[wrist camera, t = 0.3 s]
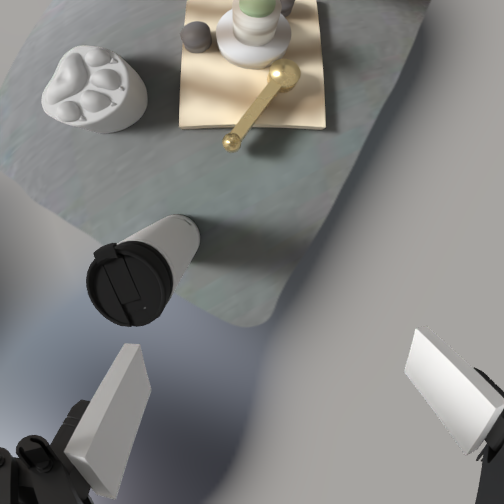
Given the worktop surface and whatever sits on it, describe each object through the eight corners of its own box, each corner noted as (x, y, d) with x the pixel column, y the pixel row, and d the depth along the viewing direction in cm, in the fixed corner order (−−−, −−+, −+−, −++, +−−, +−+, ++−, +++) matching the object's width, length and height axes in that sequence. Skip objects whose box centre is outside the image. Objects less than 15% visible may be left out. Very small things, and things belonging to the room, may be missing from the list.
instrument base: (190, -2, 29) (177, -49, 18) (312, 0, 30) (333, -44, 18) (182, 129, 34) (158, 108, 23) (321, 130, 35) (355, 111, 24)
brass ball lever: (277, 62, 31) (280, 53, 28) (301, 78, 31) (306, 70, 28) (214, 143, 33) (212, 139, 30) (239, 159, 33) (240, 157, 30)
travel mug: (191, 205, 37) (141, 232, 17) (206, 252, 38) (178, 324, 19) (147, 220, 37) (68, 260, 17) (164, 266, 38) (105, 341, 19)
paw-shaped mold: (93, 57, 30) (66, 36, 22) (163, 79, 32) (144, 55, 24) (61, 118, 32) (27, 109, 24) (127, 146, 34) (98, 139, 26)
